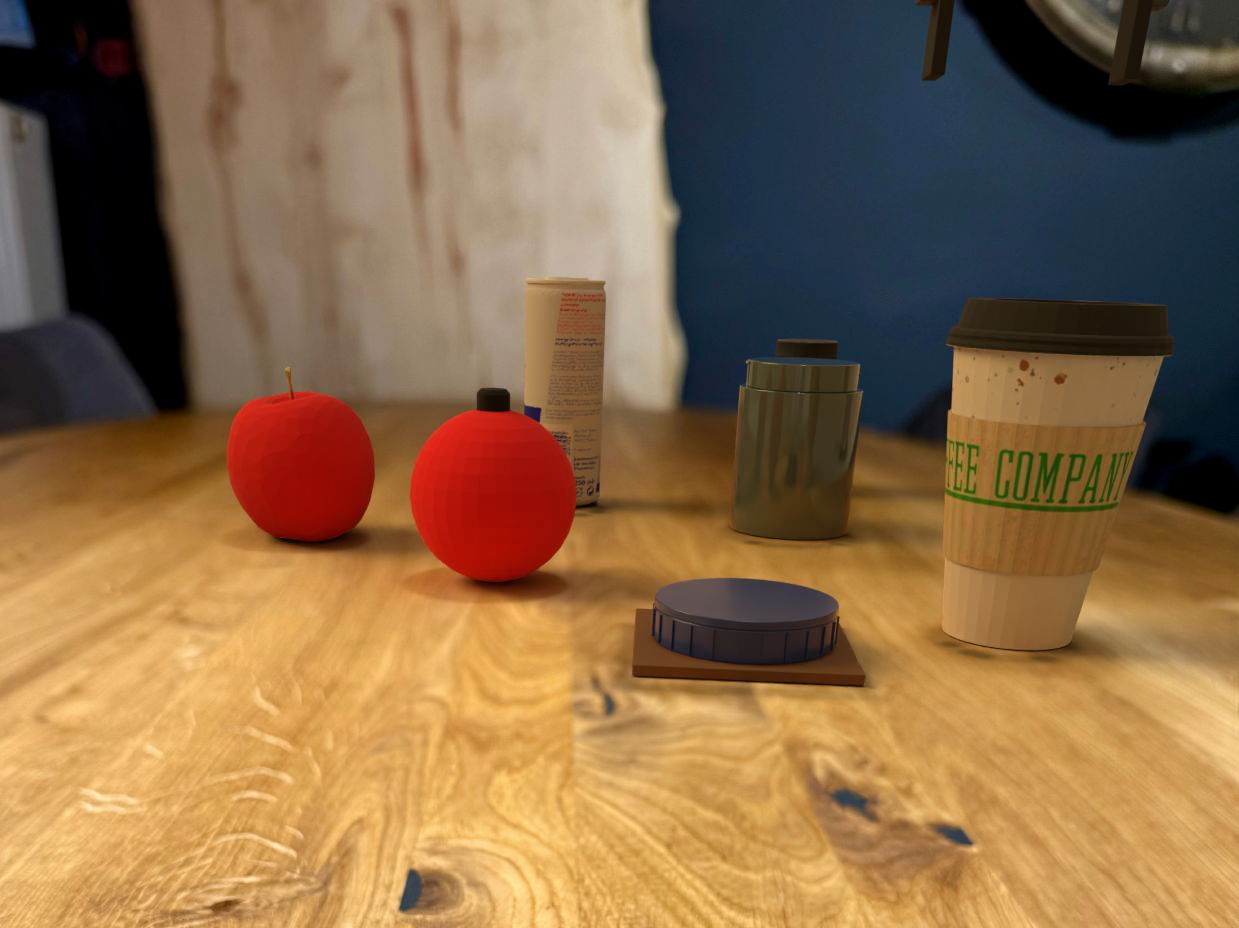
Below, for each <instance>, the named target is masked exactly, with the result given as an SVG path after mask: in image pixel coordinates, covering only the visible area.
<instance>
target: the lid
mask: <svg viewBox="0 0 1239 928" xmlns="http://www.w3.org/2000/svg"><path fill="white" fill-rule="evenodd" d="M652 609H653V616H652V636H653V637H654V639H655V640H656V642H658V643H659V644H660V645H661V646H663V647H665V648H667V649H669V650H671V651H674V652H677V653H680V654H683V655H687V656H690V657H695V658H699V659H704V660H709V661H716V662H724V663H733V664H752V665H774V664H789V663H797V662H804V661H809V660H813V659H816V658H820V657H822V656H824V655H826V654H828V653H830V652H831V651H832V650H833V648H834V645H835V644H836V643H837V635H838V627H839V624H840V618H841V617H840V615H839V610H840V604H839V601H837V599H836V598H834V597H833V596H831V595H829V594H828V593H826V592H823V591H821V590H818V589H814V588H812V587H808V586H804V585H799V584H797V583H789V582H784V581H776V580H771V579H770V580H769V579H760V578H759V579H758V578H746V577H745V578H744V577H707V578H695V579H688V580H682V581H676V582H673V583H672V582H671V583H669V584H665V585H664V586H662V587H660V588H658V589H657V590H656V592H655V593H654V601H653V603H652Z"/></svg>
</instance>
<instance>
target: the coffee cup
mask: <svg viewBox="0 0 1239 928" xmlns="http://www.w3.org/2000/svg"><path fill="white" fill-rule="evenodd" d="M1168 312H1169V307H1168V305H1166V304H1158V303H1156V304H1155V303H1141V302H1140V303H1139V302H1122V301H1121V302H1118V301H1099V300H1097V301H1096V300H1070V299H1045V298H1044V299H1043V298H1042V299H1041V298H1012V297H1011V298H1009V297H1008V298H1005V297H968V298H967V300H966V302H965V304H964V307H963V309H962V311H961V315H960V317H959V320H958V321H957V325H953V326H951V328H950V329H949V331H948V334H949V336H948V337H946V340H945V345H946V346H949V347H953V363H952V365H953V366H952V389H951V408H950V409H948V411H947V428H946V453H945V454H946V455H945V477H944V478H945V479H944V483H945V484H944V502H943V503H944V505H943V530H942V531H943V532H942V533H943V534H942V555H943V557H944V570H943V571H944V574H943V577H944V578H943V594H942V596H943V597H942V598H943V599H942V615H941V616H942V617H941V629H942V630H943V631H942V632H944V633H946V635H948V636H950V637H952V638H955V639H957V640H960V641H963V642H966V643H970V644H973V645H979V646H983V647H990V648H996V649H1005V650H1016V651H1043V650H1044V651H1045V650H1055V649H1060V648H1062V647H1065V646H1068V645H1069V644H1070V643H1071V641H1072V640H1073V635H1074V633H1075V629H1076V627H1077V623H1078V620H1079V617H1080V614H1081V611H1082V609H1083V605H1084V602H1085V599H1086V596H1087V593H1088V589H1089V587H1090V583H1091V580H1092V578H1093V574H1094V572H1095V571H1097V570H1098V569H1099V568H1100V567H1099V566H1100V563H1101V561H1102V558H1103V556H1104V555H1103V554H1104V551H1105V549H1106V547H1107V542H1108V541H1109V537H1110V533H1111V530H1112V528H1113V524H1114V523H1115V522H1114V521H1115V519H1116V516H1117V513H1118V510H1119V507H1120V504H1121V500H1122V498H1123V494H1124V492H1125V488H1126V486H1127V482H1128V480H1129V477H1130V473H1131V471H1132V468H1133V464H1134V462H1135V458H1136V457H1137V456H1136V455H1137V452H1138V450H1139V446H1140V444H1141V440H1142V437H1143V434H1144V431H1145V428H1146V425H1147V422H1146V421H1145V420H1144V418H1145V414H1146V411H1147V409H1148V405H1149V402H1150V399H1151V396H1152V393H1153V390H1154V387H1155V385H1156V381H1157V378H1158V375H1159V372H1160V369H1161V366H1162V363H1163V360H1164V357H1172V356H1174V355H1175V347H1174V344H1175V342H1176V339H1175V337H1174V336H1173V335H1170V333H1169V331H1170V329H1169V313H1168Z"/></svg>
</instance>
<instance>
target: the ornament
mask: <svg viewBox="0 0 1239 928" xmlns="http://www.w3.org/2000/svg"><path fill="white" fill-rule="evenodd" d="M576 498H577V497H576V482H575V477H574V474H573V470H572V466H571V463H570V461H569V459H568V457H567V455H566V453H565V451H564V449H563V448H562V446H561V445H560V444H559V442H558V441H557V440H556V438H555V437H554V436H553V435H552V434H551V433H550V432H549V431H548V430H547V429H546V428H544V427H543V426H542V425H541V424H540V423H538V422H537V421H535V420H533V419H532V418H530V417H528V416H526V415H524V413H521V412H518V411H515V410H512V409H511V393H510V391H509V390H508V389H507V388H503V387H481V388H480V389H479V390H478V391H476V409H472V410H468V411H465V412H462V413H460V414H457V415H456V416H454V417H452V418H450V419H448V420H447V421H445V422H444V423H443V424H442V425H441V426H439V428H437V429H436V430H435V431H433V433H432V434H431V435H430V437H429V438H428V439H427V440H426V442H425V443H424V445H422V447H421V449H420V451H419V454H418V455H417V457H416V460H415V462H414V465H413V469H412V473H411V476H410V485H409V501H410V508H411V514H412V518H413V520H414V522H415V526H416V529H417V532H418V534H419V535H420V537H421V539H422V542H424V544H425V546H426V547H427V548H428V550H429V551H430V552H431V553H432V554H433V556H434V557H435V558H436V559H437V560H438V561H440V562H441V563H443V564H444V565H445V566H446V567H448V569H450V570H452V571H453V572H455V573H458V574H459V575H461V576H463V577H466V578H468V579H471V580H472V579H473V580H477V581H482V582H487V583H488V582H489V583H501V582H509V581H512V580H519V579H521V578H524V577H525V576H527V575H531V574H532V573H534V572H536V571H538V570H539V569H540V568H542V567H543V566H544V565H546V564H547V563H548V562H550V560H552V558H554V557H555V555H556V554H557V552H558V551H560V549H561V548H562V547H563V545H564V543H565V541H566V540H567V538H568V536H569V534H570V532H571V529H572V525H573V522H574V519H575V516H576V515H575V514H576V507H577V506H576Z"/></svg>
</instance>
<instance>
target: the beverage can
mask: <svg viewBox="0 0 1239 928" xmlns="http://www.w3.org/2000/svg"><path fill="white" fill-rule="evenodd" d="M525 283H527V284H526V288H525V291H524V379H523V380H524V385H523V386H524V388H523V389H524V391H523V392H524V393H523V394H524V397H523V398H524V399H523V401H524V402H523V403H524V404H523V405H524V406H523V414H524V415H526V416H528V417H530V418H532V419H533V420H535V421H537V422H538V423H540V424H541V425H542V426H543V427H544V428H546V429H547V430H548V431H549V432H550V433H551V434H552V435H553V436H554V437H555V438H556V440H557V441H558V442H559V444H560V445H561V446H562V448H563V449H564V451H565V453H566V455H567V457H568V459H569V461H570V463H571V466H572V470H573V474H574V477H575V482H576V497H577V498H576V507H583V506H587V505H589V504H591V503H594V502H596V501H597V500H599V498H600V496H601V493H600V491H601V489H600V488H601V464H602V463H601V459H602V432H603V431H602V429H603V402H604V401H603V400H604V374H605V373H604V371H605V345H606V344H605V341H606V314H607V313H606V312H607V311H606V309H607V293H606V290H605V286H606V280H604V279H589V278H588V277H569V276H545V277H526V278H525Z"/></svg>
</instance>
